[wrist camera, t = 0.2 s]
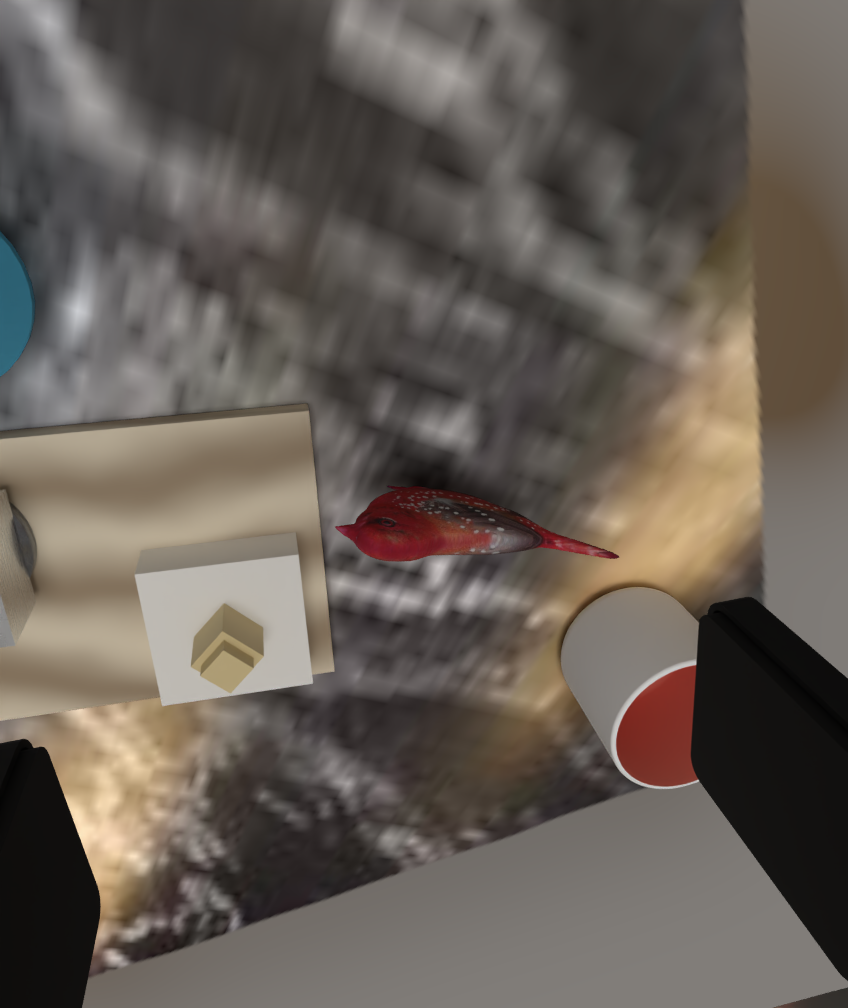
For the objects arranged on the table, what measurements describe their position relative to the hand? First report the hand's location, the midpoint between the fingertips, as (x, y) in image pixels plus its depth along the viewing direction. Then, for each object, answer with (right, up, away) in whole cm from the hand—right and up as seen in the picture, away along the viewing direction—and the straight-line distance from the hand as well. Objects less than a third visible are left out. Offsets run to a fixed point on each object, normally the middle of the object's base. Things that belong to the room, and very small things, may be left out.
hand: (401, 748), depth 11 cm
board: (-19, 0, +36) cm, 41 cm away
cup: (+15, -6, +47) cm, 50 cm away
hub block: (-12, -3, +38) cm, 39 cm away
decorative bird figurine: (+2, +4, +40) cm, 40 cm away
